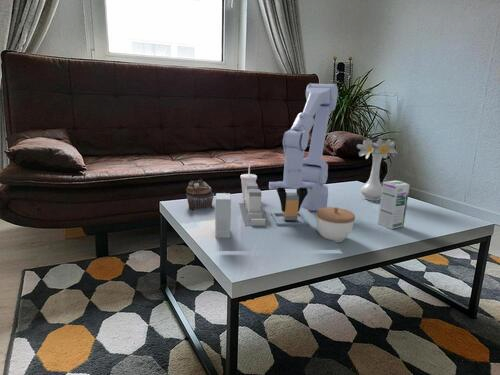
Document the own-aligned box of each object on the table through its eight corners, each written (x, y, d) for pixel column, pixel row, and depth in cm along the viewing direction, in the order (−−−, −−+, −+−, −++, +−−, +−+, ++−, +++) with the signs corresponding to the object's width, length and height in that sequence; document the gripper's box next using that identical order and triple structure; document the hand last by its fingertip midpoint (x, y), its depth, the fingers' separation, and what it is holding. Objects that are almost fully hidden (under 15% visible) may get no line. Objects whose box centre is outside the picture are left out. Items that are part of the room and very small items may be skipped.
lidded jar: (328, 248, 94) (332, 215, 91) (307, 233, 103) (309, 203, 101) (359, 243, 98) (364, 211, 95) (336, 229, 107) (339, 200, 105)
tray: (300, 216, 117) (301, 212, 117) (309, 227, 107) (309, 223, 107) (271, 216, 116) (271, 212, 116) (276, 228, 106) (277, 223, 106)
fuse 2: (258, 211, 118) (259, 189, 116) (260, 215, 114) (261, 192, 112) (247, 211, 118) (247, 189, 115) (248, 215, 114) (249, 192, 112)
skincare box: (215, 232, 101) (215, 192, 98) (229, 232, 102) (230, 193, 98) (214, 240, 95) (215, 199, 92) (230, 240, 96) (231, 199, 93)
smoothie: (256, 198, 136) (258, 163, 133) (255, 203, 130) (257, 166, 126) (240, 197, 137) (241, 162, 133) (238, 201, 131) (239, 165, 127)
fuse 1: (255, 204, 126) (256, 183, 124) (257, 207, 122) (258, 186, 120) (244, 204, 125) (245, 183, 123) (245, 207, 121) (246, 185, 119)
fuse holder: (260, 205, 128) (260, 198, 127) (270, 228, 106) (271, 219, 105) (238, 205, 127) (239, 197, 126) (245, 228, 105) (245, 220, 104)
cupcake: (198, 213, 116) (198, 185, 113) (180, 206, 122) (180, 179, 120) (219, 207, 123) (219, 180, 120) (201, 201, 129) (201, 175, 127)
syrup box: (391, 229, 109) (398, 185, 105) (376, 223, 114) (383, 180, 110) (403, 227, 111) (410, 183, 108) (389, 221, 116) (395, 179, 113)
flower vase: (365, 191, 153) (372, 134, 147) (399, 203, 137) (409, 140, 131) (342, 194, 147) (349, 135, 141) (375, 206, 131) (384, 141, 125)
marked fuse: (294, 215, 113) (296, 192, 111) (297, 220, 110) (299, 196, 107) (282, 215, 113) (283, 192, 111) (284, 220, 109) (286, 196, 107)
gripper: (272, 171, 102) (270, 214, 106) (319, 172, 104) (315, 214, 108) (268, 166, 109) (266, 207, 113) (313, 167, 111) (309, 207, 114)
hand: (290, 210), depth 111 cm, fingers open, 4 cm apart
